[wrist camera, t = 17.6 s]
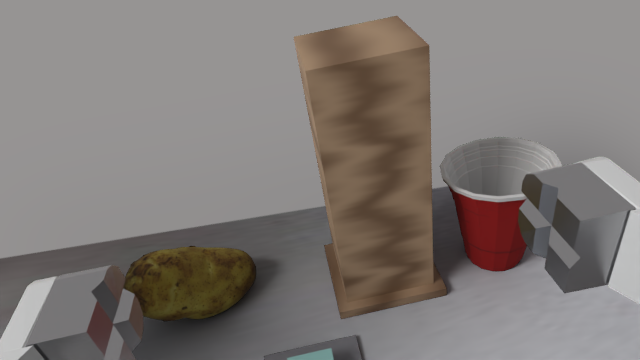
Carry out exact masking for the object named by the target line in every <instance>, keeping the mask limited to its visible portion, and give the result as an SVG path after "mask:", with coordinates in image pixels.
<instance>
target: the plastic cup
mask: <svg viewBox="0 0 640 360" xmlns="http://www.w3.org/2000/svg"><path fill="white" fill-rule="evenodd" d="M560 166H562V163H561V162H560V160H559V159H558V157H557V155H556V153H555V152H554V151H552V150H550V149H548V148H547V147H545V146H543V145H542V144H540V143H537V142H533V141H529V140H525V139H521V138H508V137H507V138H506V137H494V138H487V139H479V140H475V141H472V142H470V143H466V144H463V145H461V146H458V147H457V148H455V149H454V150H453V151H451V152H450V153H449V154H447V155H446V156H445V158H444V160H443V161H442V163H441V165H440V169H441V174H442V178H443V181H444V182H445V183H446V184H447V185H448V186H449V188H450V191H451V192H452V196H453V199H454V201H455V205H456V210H457V215H458V219H459V224H460V229H461V234H462V236H463V241H464V246H465V251H466V253H467V256H468V258H469V259H470V260H471V261H472V263H473V264H475V265H477V266H478V267H480V268H482V269H486V270H490V271H505V270H508V269H511V268H513V267H514V266H515V265H517V264H518V263H519V261H520V260H521V259H522V257H523V254H524V251H525V249H526V246H527V245H526V243H525V241H524V239H523V237H522V235H521V232H520V227H519V223H518V216H519V208H520V207H521V205H522V204H523V203H524V202H525V200H526V199H527V197H526V196H525V195H524V194H523V192H522V191H521V189H522V181H523V179H524V177H525V175H526V174H529V173H533V172H538V171H542V170H546V169H551V168H555V167H560Z"/></svg>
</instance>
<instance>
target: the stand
mask: <svg viewBox="0 0 640 360" xmlns="http://www.w3.org/2000/svg"><path fill="white" fill-rule="evenodd" d="M294 41H295V46H296V51H297V57H298V62H299V67H300V73H301V78H302V83H303V89H304V94H305V99H306V104H307V110H308V115H309V120H310V126H311V130H312V136H313V141H314V147H315V152H316V157H317V163H318V168H319V173H320V178H321V183H322V189H323V194H324V199H325V205H326V210H327V215H328V221H329V226H330V231H331V236H332V242H333V243H332V244H328V245H324V247H325V252H326V256H327V260H328V265H329V269H330V273H331V278H332V282H333V286H334V291H335V295H336V299H337V304H338V308H339V312H340V316H341V319H343V318H348V317H352V316H356V315H361V314H365V313H370V312H374V311H379V310H383V309H387V308H392V307H396V306H401V305H405V304H409V303H414V302H418V301H423V300H427V299H431V298H436V297H440V296H445V295H447V288H446V286H445V284H444V282H443V280H442V278H441V276H440V274H439V272H438V270H437V268H436V266H435V264H434V262H433V228H432V178H431V177H432V173H431V119H430V118H431V117H430V63H429V45H428V44H427V43H426V42H425V41H424V40H423V39H422V38H421V37H420V36H418V35H417V34H416V33H415V32H414V31H413V30H412V29H411V28H410V27H409V26H408V25H406V24H405V23H404V22H403V21H402V20H401V19H400V18H399V17H398V16H394V17H388V18H384V19H379V20H374V21H369V22H364V23H359V24H355V25H350V26H344V27H340V28H335V29H330V30H325V31H320V32H315V33H310V34H306V35H300V36H296V37H294Z"/></svg>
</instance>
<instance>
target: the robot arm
mask: <svg viewBox="0 0 640 360" xmlns="http://www.w3.org/2000/svg"><path fill="white" fill-rule="evenodd" d="M521 191H522V192H523V194H524V195H525V196H526V197H527V199H526V200H525V202H524V203H523V204H522V205H521V207H520V208H519V216H518V223H519V227H520V232H521V235H522V237H523V239H524V241H525V243H526V245H527V246H528V247H529V249H530V250H531V251H532V253H535V254H537V255H539V256H541V257H543V258H546V262H545V270H546V271H547V272H548V273H549V275H550V276H551V277H552V278H553V280H554V281H555V282H556V284H557V285H558V286H559V287H560V289H561V290H562V291H563V292H564V293H569V292H574V291H579V290H583V289H588V288H593V287H598V286H603V285H608V287H609V288H611V289H613V290H614V291H616V292H618V293H620V294H622V295H623V296H625V297H627V298H629V299H630V300H632V301H634V302H636V303H638V304H639V305H640V182H639V181H637V180H636V179H635V178H633V177H632V176H631V175H629V174H628V173H627V172H625V171H624V170H623V169H622V168H620V167H619V166H618V165H616V164H615V163H614V162H612V161H611V160H610V159H608V158H605V157H601V156H600V157H595V158H591V159H587V160H583V161H579V162H576V163H574V164H568V165H564V166H560V167H555V168H551V169H546V170H542V171H538V172H533V173H529V174H526V175H525V177H524V179H523V181H522V189H521ZM125 279H126V278H125V277H124V275H123V274H122V272H121V271H120V269H119V267H117V266H113V265H110V266H105V267H100V268H95V269H90V270H84V271H79V272H74V273H69V274H64V275H61V276H56V277H51V278H46V279H41V280H36V281H34V282H33V283H31V284H30V285H28V286H27V288H26V290H25V292H24V294H23V296H22V298H21V300H20V302H19V304H18V306H17V308H16V310H15V312H14V314H13V316H12V318H11V320H10V322H9V324H8V326H7V328H6V330H5V332H4V334H3V335H2V337H1V339H0V360H136V358H135V357H134V355H133V354H132V351H133V350H134V349H135V348H136V347H137V345H138V344H139V343H140V342H141V340H142V334H143V328H144V327H143V313H142V310H141V306H140V303H139V301H138V299H137V298H136V296H135V294H133V293H131V292H129V291H127V290H125V289H123V287H124V283H125Z"/></svg>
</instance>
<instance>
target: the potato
mask: <svg viewBox="0 0 640 360" xmlns="http://www.w3.org/2000/svg"><path fill="white" fill-rule="evenodd" d="M125 278H126V279H125V283H124V287H123V289H125V290H127V291H129V292H131V293H133V294H135V296H136V298H137V299H138V301H139V303H140V306H141V310H142V313H143V316H145V317H148V318H152V319H158V320H163V321H174V320H178V319H182V318H191V319H204V318H208V317H211V316H214V315H216V314H219V313H221V312H223V311H225V310H227V309H228V308H230V307H231V306H233V305H234V304H235V303H237V302H238V301H239V300H240V299H241V298H242V297H243V296H244V295H245V293H246V292H247V291H248V290H249V289H250V287H251V286H252V285H253V283H254V281H255V279H256V266H255V264H254V262H253V260H252V258H251V257H250V256H249V255H248V254H247V253H246V252H244V251H241V250H238V249H231V248H201V247H195V246H190V247H181V248H176V249H165V250H159V251H155V252H151V253H148V254H146V255H143V257H141V258H140V259H138V260H137V261H135V262H133V263H132V264H131V266H130V268H129V270H128V272H127V274H126V276H125Z"/></svg>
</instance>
